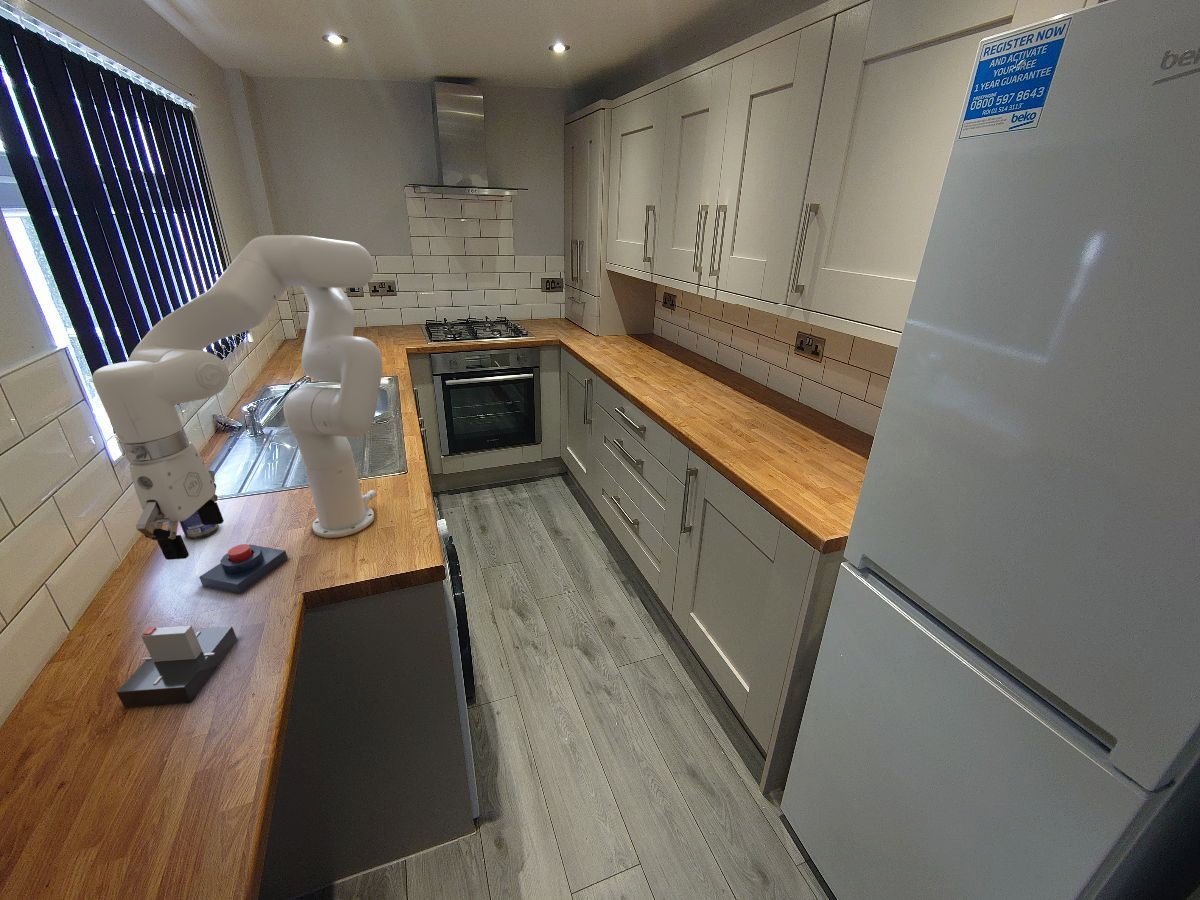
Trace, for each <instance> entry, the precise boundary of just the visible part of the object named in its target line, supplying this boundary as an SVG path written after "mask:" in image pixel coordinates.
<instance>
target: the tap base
mask: <svg viewBox="0 0 1200 900" xmlns="http://www.w3.org/2000/svg"><path fill="white" fill-rule="evenodd" d="M193 630H194V632H195V635H196V637H197V639H198V642H199V644H200V646H201V649H202V652H201V653H200V655H199V656H198V657H197V658H196V659H189V660H175V661H161V662H153V660H152V658H151V656H150V655H149V656H147V657H142V658H141V661H143V663H141V665H140V666H139V667H138V668H137V669H136V670H135V671H134V673H132V674H131V675H130V677H129V678H128V679H127V680H126V681H125V682H124V683H123V685H122V686H121V687H120V688H119V689H118V690H117V691H116V695H117V697H118V699H119V701H120V702H121V704H122V706H123V708H125V709H126V708H137V707H138V708H139V707H151V706H162V705H163V706H165V705H176V704H177V705H178V704H189V703H190V704H191V703H193V701H194V700H195V698H196V697H197V696H198V694H199V693H200V691H202V689H203V688H204V687H205V685H206V684H207V682H209V680H210V679H211V677H212V676H213V675H214V673H215V671H216V670H218V668H219V666H220V665H221V663H222V662H223V661H224V659H225V658H226V657H227V656H228V654H229V653H230V651H231V650H232V649H233V648H234V646H235V645H236V644H237V642H238V638H237V635H236V632H235V630H234V627H233V625H232V626H219V627H201V628H193Z"/></svg>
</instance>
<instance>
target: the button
mask: <svg viewBox="0 0 1200 900" xmlns="http://www.w3.org/2000/svg"><path fill="white" fill-rule="evenodd" d="M227 553H228V555H229V558H230V561H231V562H239V561H242V560H245V559H248V558H249V557H251V556H252V551H251V548H250V546H249V544H246V543H243V544H237V545H235V546H233V547H231V548H230V549H228V550H227Z"/></svg>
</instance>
